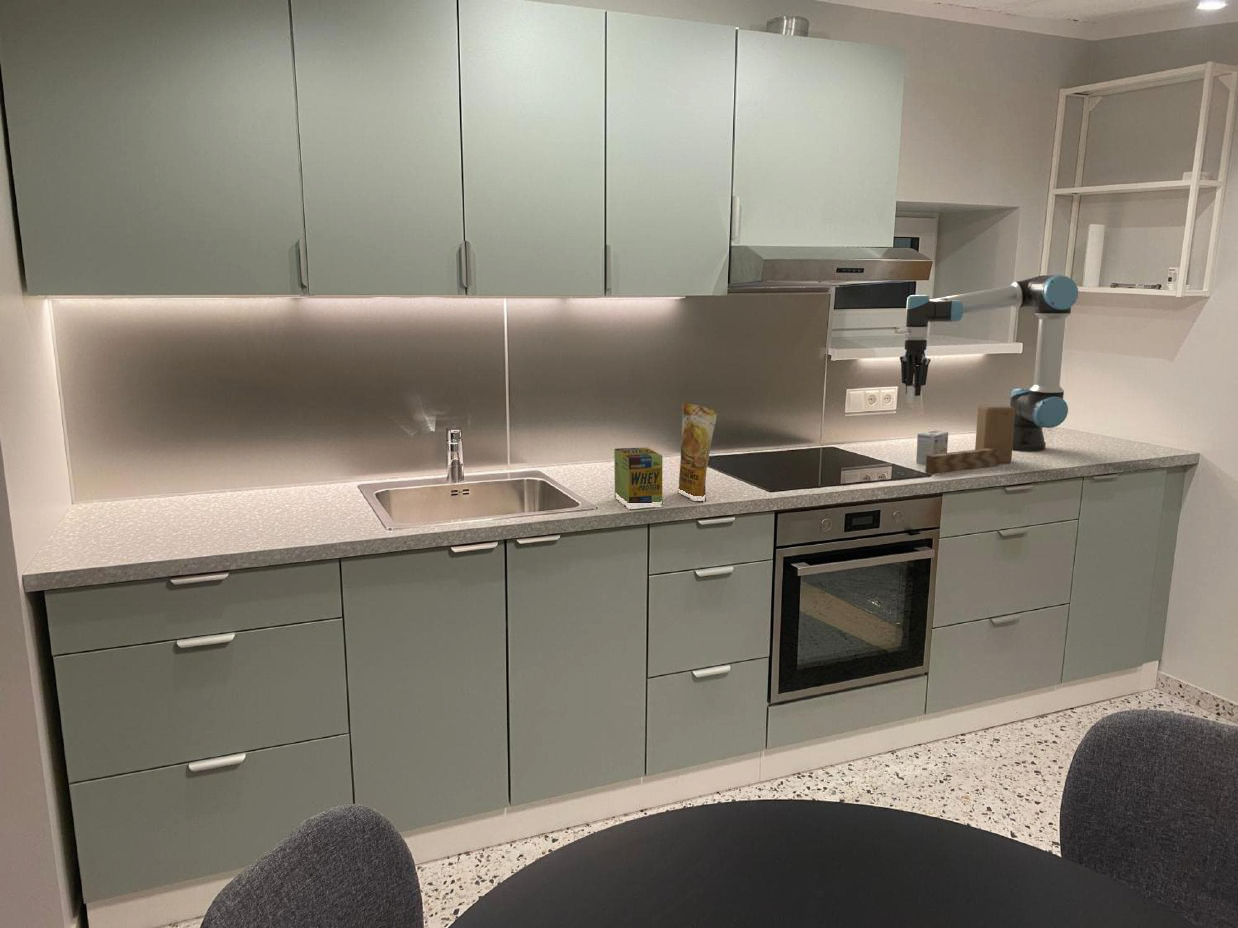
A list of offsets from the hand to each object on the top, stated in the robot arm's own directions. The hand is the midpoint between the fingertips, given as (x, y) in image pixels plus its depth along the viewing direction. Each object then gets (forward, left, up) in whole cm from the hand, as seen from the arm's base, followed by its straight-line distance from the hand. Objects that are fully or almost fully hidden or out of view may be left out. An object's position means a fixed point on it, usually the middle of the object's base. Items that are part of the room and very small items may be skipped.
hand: (912, 404), depth 335 cm
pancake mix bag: (+101, +18, -20) cm, 104 cm away
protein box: (+120, +17, -20) cm, 123 cm away
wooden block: (-20, +20, -20) cm, 34 cm away
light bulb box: (0, +11, -20) cm, 23 cm away
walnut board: (0, +26, -19) cm, 32 cm away
